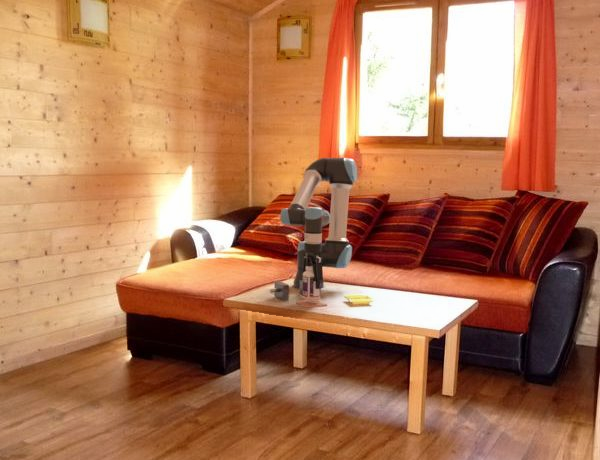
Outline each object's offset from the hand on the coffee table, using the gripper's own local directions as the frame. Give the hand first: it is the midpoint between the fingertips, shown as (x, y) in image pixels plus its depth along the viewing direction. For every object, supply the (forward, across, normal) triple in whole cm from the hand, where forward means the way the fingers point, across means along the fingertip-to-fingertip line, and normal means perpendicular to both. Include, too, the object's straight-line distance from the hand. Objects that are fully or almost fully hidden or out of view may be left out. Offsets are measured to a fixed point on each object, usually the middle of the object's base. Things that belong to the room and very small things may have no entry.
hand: (311, 293), depth 281 cm
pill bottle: (+2, 0, 0) cm, 2 cm away
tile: (+5, 0, 0) cm, 5 cm away
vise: (+5, -15, -1) cm, 16 cm away
